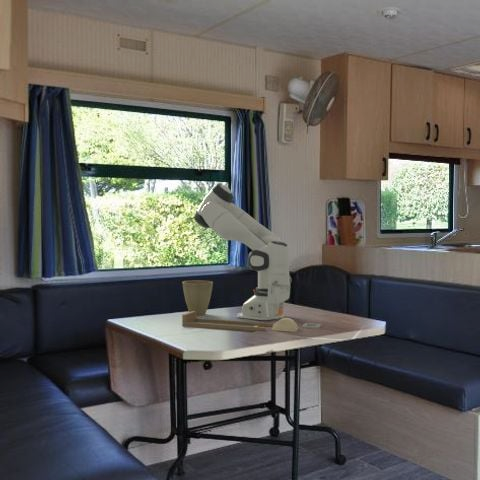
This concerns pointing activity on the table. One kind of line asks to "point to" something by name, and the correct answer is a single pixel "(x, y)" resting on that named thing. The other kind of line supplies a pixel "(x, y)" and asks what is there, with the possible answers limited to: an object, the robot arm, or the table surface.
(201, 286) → the plant pot
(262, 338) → the table surface
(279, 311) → the ball
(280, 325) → the lane
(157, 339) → the table surface
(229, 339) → the table surface
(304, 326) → the coaster
